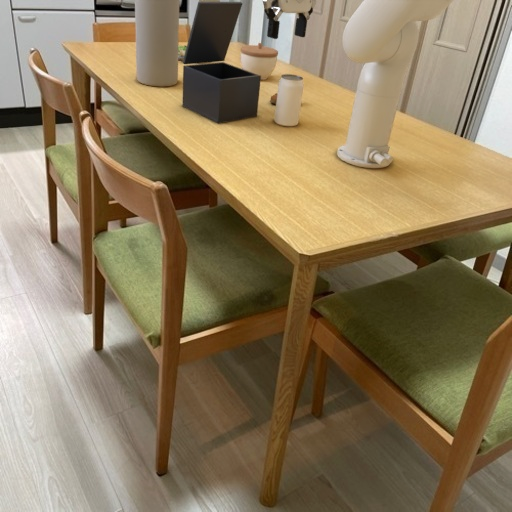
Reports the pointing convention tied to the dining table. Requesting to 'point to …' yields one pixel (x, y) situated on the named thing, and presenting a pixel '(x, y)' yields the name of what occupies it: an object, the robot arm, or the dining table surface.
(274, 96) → the pastry
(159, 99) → the dining table surface
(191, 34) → the bin lid
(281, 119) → the can
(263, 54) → the lidded bowl
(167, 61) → the cylinder vase
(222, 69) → the bin
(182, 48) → the salad plate
